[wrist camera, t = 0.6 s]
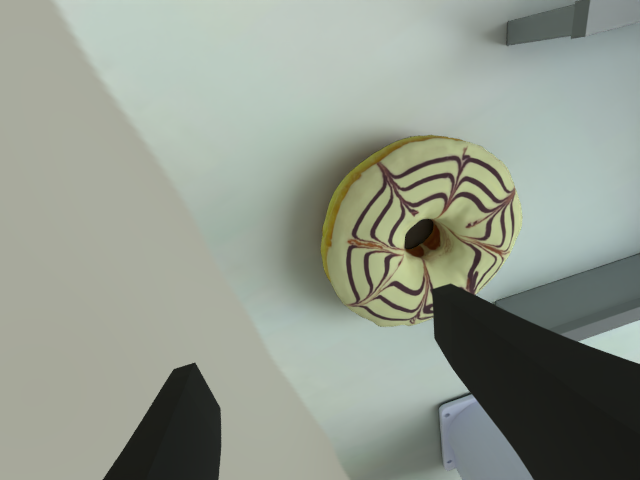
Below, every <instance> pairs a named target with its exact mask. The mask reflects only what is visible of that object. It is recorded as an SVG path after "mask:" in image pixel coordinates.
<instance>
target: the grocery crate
mask: <svg viewBox="0 0 640 480" xmlns="http://www.w3.org/2000/svg"><path fill="white" fill-rule="evenodd" d="M639 22H640V0H580V1H576V2H575V5H571V6H567V7H563V8H559V9H555V10H551V11H547V12H543V13H539V14H535V15H531V16H528V17H524V18H520V19H516V20H512V21H508V31H507V46H508V45H514V44H521V43H527V42H534V41H540V40H547V39H553V38H559V37H566V36H571V39H572V38H579V37H585V36H589V35H593V34H597V33H601V32H604V31H608V30H612V29H616V28H620V27H624V26H627V25H631V24H635V23H639ZM496 306H498V307H500V308H502V309H504V310H506V311H508V312H510V313H512V314H515V315H517V316H519V317H521V318H523V319H525V320H528V321H530V322H532V323H534V324H536V325H539V326H541V327H543V328H546V329H548V330H550V331H553V332H555V333H558V334H560V335H562V336H565V337H567V338H570V339H572V340H574V341H577V342H578V341H580V340H583V339H586V338H589V337H592V336H595V335H598V334H600V333H603V332H606V331H609V330H612V329H615V328H618V327H620V326H623V325H626V324H629V323H632V322H635V321H638V320H640V254H637V255H634V256H631V257H628V258H625V259H622V260H619V261H616V262H613V263H610V264H607V265H604V266H601V267H598V268H595V269H592V270H589V271H586V272H583V273H580V274H577V275H574V276H571V277H568V278H565V279H562V280H559V281H556V282H553V283H550V284H547V285H544V286H541V287H538V288H535V289H532V290H529V291H526V292H522V293H519V294H516V295H513V296H510V297H507V298H504V299H501V300H498V301H496Z"/></svg>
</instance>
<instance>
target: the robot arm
mask: <svg viewBox="0 0 640 480" xmlns="http://www.w3.org/2000/svg"><path fill="white" fill-rule="evenodd" d="M432 301H433V318H434V336H435V340H436V342H437V343H438V345H439V347H440V349H441V350H442V352H443V354H444V355H445V357H446V359H447V360H448V362H449V364H450V365H451V367H452V368H453V370H454V371H455V373H456V374H457V375H458V377H459V378H460V379H461V381H462V382H463V383H464V384H465V386H466V387H467V388H468V390H469V391H470V392H471V395H468V396H466V397H463V398H460V399H457V400H454V401H451V402H449V403H446V404H443V405H442V406H440V408H439V418H440V431H441V444H442V457H443V466H444V468H445V470H452V469H454V468H456V469H457V471H458V473H459V475H460V477H461V478H462V480H640V364H638V363H635V362H632V361H629V360H626V359H623V358H620V357H618V356H615V355H612V354H609V353H606V352H604V351H601V350H598V349H595V348H592V347H590V346H587V345H585V344H582V343H579V342H577V341H574V340H572V339H570V338H567V337H565V336H562V335H560V334H558V333H555V332H553V331H550V330H548V329H546V328H543V327H541V326H539V325H536V324H534V323H532V322H530V321H528V320H525V319H523V318H521V317H519V316H517V315H515V314H512V313H510V312H508V311H506V310H504V309H502V308H500V307H498V306H496V305H494V304H492V303H490V302H488V301H486V300H484V299H482V298H480V297H478V296H476V295H474V294H472V293H470V292H468V291H466V290H463V289H461V288H459V287H457V286H455V285H453V284H451V283H450V284H447V285H444V286H440V287H437V288H434V289H432ZM220 455H221V413H220V407H219V405H218V403H217V401H216V399H215V398H214V396H213V394H212V392H211V390H210V389H209V387H208V385H207V383H206V381H205V380H204V378H203V376H202V374H201V372H200V370H199V369H198V367H197V365H196V363H192V364H189V365H186V366H183V367H179V368H176V369H174V370H173V371H172V373H171V374H170V376H169V377H168V379H167V381H166V382H165V384H164V385H163V387H162V389H161V390H160V392H159V393H158V395H157V397H156V398H155V400H154V402H153V403H152V405H151V407H150V408H149V410H148V411H147V413H146V414H145V416H144V418H143V419H142V421H141V423H140V424H139V426H138V427H137V429H136V430H135V432H134V434H133V435H132V437H131V438H130V440H129V441H128V443H127V444H126V446H125V448H124V449H123V451H122V452H121V454H120V455H119V457H118V458H117V460H116V461H115V462H114V464H113V466H112V467H111V468H110V470H109V471H108V473H107V474H106V476H105V477H104V479H103V480H218V477H219V466H220Z"/></svg>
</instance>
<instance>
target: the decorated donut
mask: <svg viewBox="0 0 640 480" xmlns="http://www.w3.org/2000/svg"><path fill="white" fill-rule="evenodd" d="M422 219H431V220H432V221H433V224H434V226H433V227H434V228H433V232H432V233H431V234H430V236H429V237H428V238H427V239H426V240H425V241H424V242H423V243H421V244H420V245H419V246H417V247H415V248H413V249H407V248H406V249H405V235H406V233H407V232H408V230H409V229H410V228H411V227H412V226H414V225H415V224H416V223H417V222H418V221H420V220H422ZM521 226H522V211H521V204H520V201H519V198H518V194H517V191H516V189H515V186H514V183H513V181H512V178H511V175H510V172H509V170H508V169H507V167H506V166H505V165H504V164H503V163H502V161H500V160H498V159H497V158H496V157H495V156H494V155H493V154H492V153H489V152H488V151H486V150H485V149H484V148H483V147H481V146H479V145H475V144H472V143H470V142H466V141H463V140H460V139H455V138H448V137H444V136H433V135H428V136H414V137H410V138H405V139H402V140H399V141H396V142H394V143H392V144H390V145H388V146H386V147H384V148H382V149H381V150H379V151H377V152H375V153H374V154H372V155H371V156H369V157H368V158H367V159H366V160H364V161H363V162H361V163H360V164H359V165H358V166H356V167H355V168H354V169H353V170H352V171H351V172H349V174H348V175H346V177H345V178H344V179H343V180H342V181H341V183H340V184H339V186H338V187H337V189H336V190H335V192H334V194H333V196H332V198H331V201H330V203H329V207H328V210H327V214H326V218H325V222H324V224H323V228H322V232H323V237H322V243H321V255H322V260H323V266H324V271H325V273H326V275H327V278H328V279H329V281H330V282H331V284H332V286H333V288H334V290H335V292H336V294H337V296H338V297H339V298H340V299H341V301H342V303H343V304H344V305H345V306H347V307H348V308H349V309H350V310H351V311H353V312H355V313H356V314H358V315H359V316H361V317H364V318H366V319H368V320H370V321H373V322H374V323H375V324H377V325H378V326H380V327H392V326H398V325H407V326H411V325H415V324H419V323H421V322H424V321H427V320H429V319H431V318H433V301H432V289H434V288H437V287H440V286H444V285H447V284H450V283H451V284H453V285H455V286H457V287H459V288H461V289H463V290H466V291H468V292H470V293H472V294H474V295H476V294H477V293H478V292H479V291H480V290H481V289H482V288H483V287H484V286H485V285H486V284H487V283H488V282H489V281H490V280H491V279H492V278H493V277H494V276H495V275H496V273H497V272H498V271H499V269H500V268H501V267H502V265H503V264H504V262H505V261H506V259H507V258H508V256H509V255H510V253H511V250H512V248H513V246H514V244H515V241H516V239H517V236H518V234H519V232H520V230H521Z"/></svg>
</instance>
